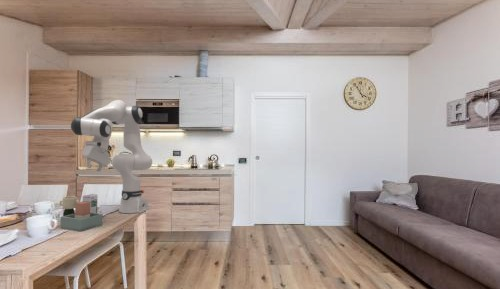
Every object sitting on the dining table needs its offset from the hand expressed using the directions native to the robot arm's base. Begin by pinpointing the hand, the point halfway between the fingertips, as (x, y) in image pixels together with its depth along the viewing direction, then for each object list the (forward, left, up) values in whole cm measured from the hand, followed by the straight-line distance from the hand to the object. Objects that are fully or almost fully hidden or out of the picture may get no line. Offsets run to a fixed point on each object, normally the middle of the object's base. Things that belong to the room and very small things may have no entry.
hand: (93, 169), depth 161 cm
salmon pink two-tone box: (+5, -1, -30) cm, 30 cm away
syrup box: (-9, -11, -31) cm, 34 cm away
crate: (+5, -1, -31) cm, 31 cm away
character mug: (-3, -20, -31) cm, 37 cm away
